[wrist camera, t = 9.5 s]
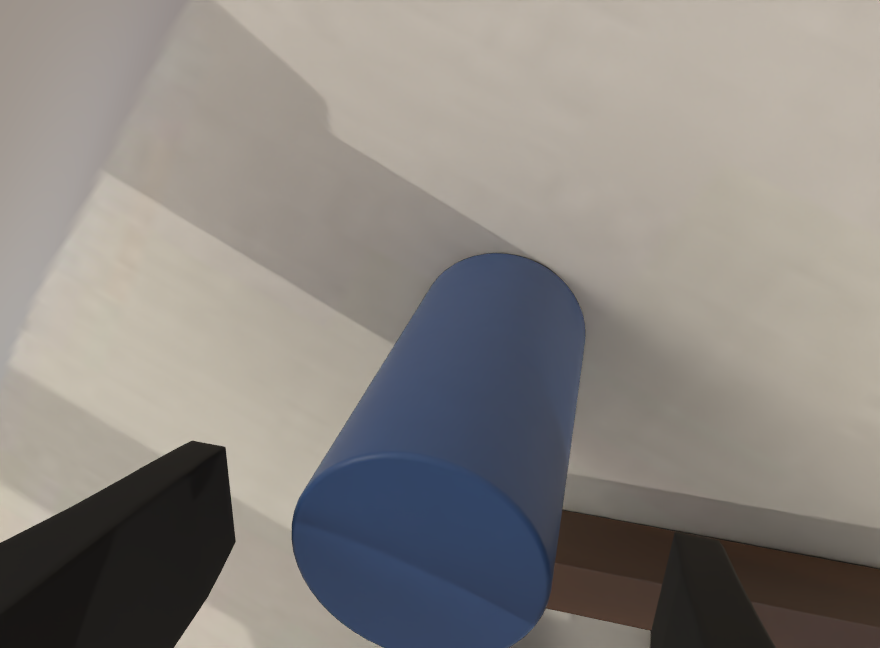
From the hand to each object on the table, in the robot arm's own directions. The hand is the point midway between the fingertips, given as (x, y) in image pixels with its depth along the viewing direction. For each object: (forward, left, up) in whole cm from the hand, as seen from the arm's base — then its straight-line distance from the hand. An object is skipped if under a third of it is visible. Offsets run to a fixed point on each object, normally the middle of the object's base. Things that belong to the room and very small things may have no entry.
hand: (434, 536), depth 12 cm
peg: (0, 0, -7) cm, 7 cm away
